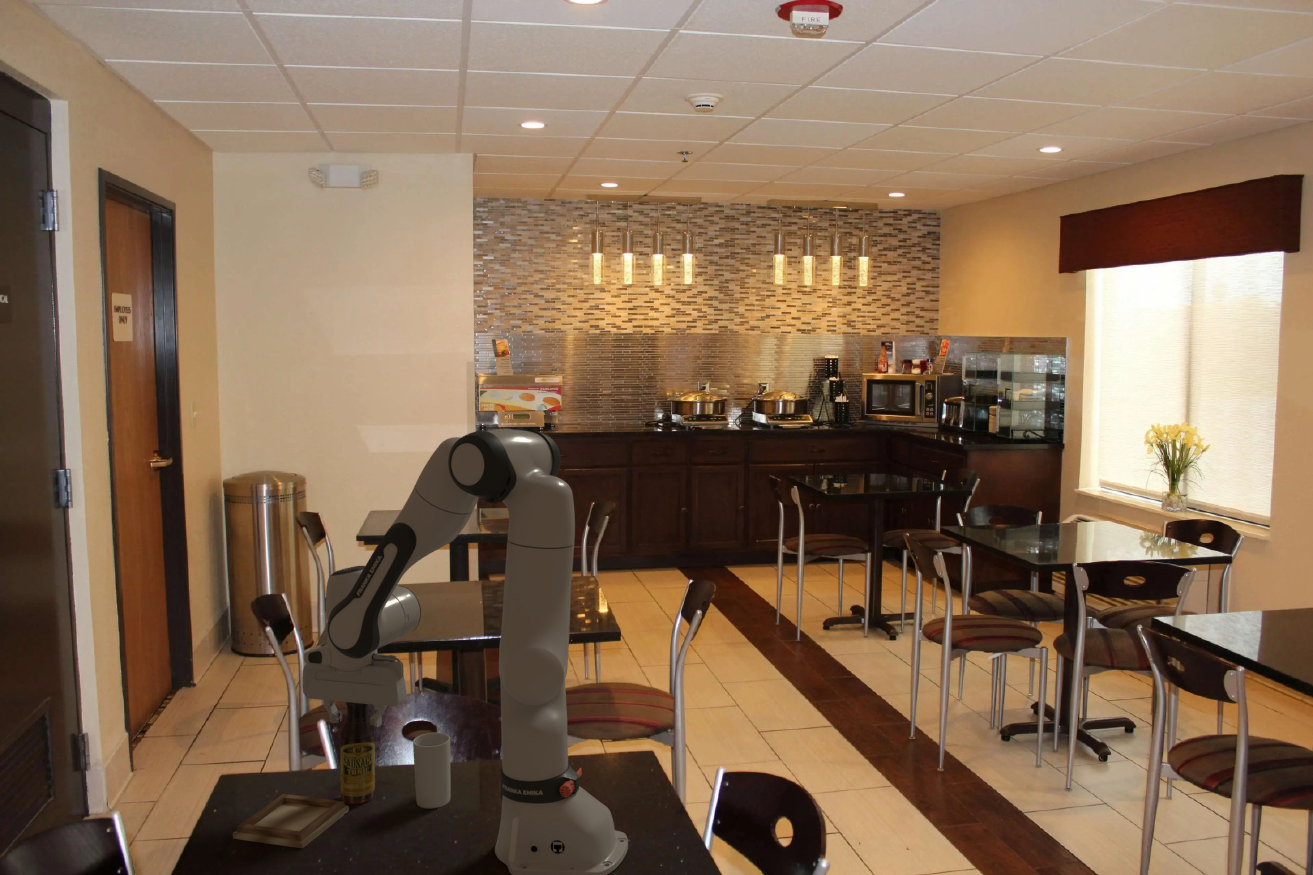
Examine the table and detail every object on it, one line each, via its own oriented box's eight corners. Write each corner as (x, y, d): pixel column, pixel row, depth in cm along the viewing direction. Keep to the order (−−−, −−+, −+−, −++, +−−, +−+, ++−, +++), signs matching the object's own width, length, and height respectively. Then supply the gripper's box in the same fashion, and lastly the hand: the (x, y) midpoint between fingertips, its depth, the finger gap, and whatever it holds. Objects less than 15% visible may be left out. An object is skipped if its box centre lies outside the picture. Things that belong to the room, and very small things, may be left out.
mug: (446, 809, 183) (444, 746, 182) (410, 809, 183) (408, 746, 182) (459, 785, 193) (457, 725, 192) (425, 785, 193) (423, 725, 192)
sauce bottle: (341, 808, 184) (336, 704, 182) (340, 794, 190) (336, 693, 188) (377, 802, 186) (373, 700, 184) (376, 788, 192) (372, 689, 190)
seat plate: (348, 810, 183) (348, 800, 183) (302, 848, 170) (302, 837, 169) (283, 802, 187) (282, 792, 186) (233, 838, 173) (232, 827, 173)
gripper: (411, 650, 186) (414, 722, 187) (315, 643, 191) (319, 713, 192) (393, 661, 180) (396, 735, 181) (295, 653, 185) (299, 725, 186)
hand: (355, 723), depth 187 cm, fingers open, 7 cm apart
